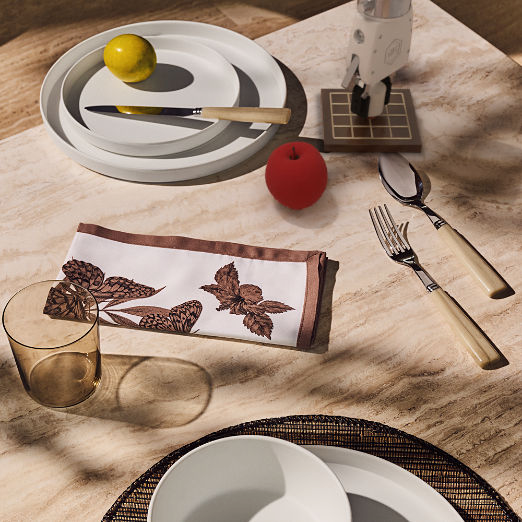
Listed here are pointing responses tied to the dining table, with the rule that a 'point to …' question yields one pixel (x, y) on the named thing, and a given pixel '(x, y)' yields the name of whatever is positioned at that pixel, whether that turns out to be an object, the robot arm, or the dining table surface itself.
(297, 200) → the apple
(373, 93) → the white cylinder
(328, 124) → the board
